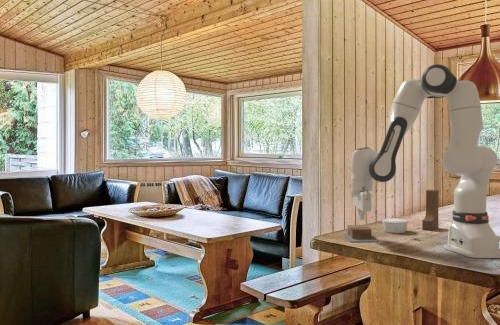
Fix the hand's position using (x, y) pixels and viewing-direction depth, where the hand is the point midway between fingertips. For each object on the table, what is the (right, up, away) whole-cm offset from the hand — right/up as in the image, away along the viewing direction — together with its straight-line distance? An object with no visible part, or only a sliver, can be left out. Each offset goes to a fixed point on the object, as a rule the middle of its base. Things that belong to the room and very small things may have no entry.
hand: (361, 219), depth 189 cm
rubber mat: (0, -9, +3) cm, 9 cm away
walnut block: (0, -6, 0) cm, 6 cm away
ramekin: (+19, -8, +17) cm, 27 cm away
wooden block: (+37, -7, +22) cm, 44 cm away
